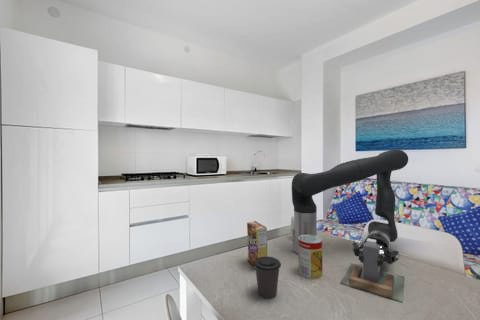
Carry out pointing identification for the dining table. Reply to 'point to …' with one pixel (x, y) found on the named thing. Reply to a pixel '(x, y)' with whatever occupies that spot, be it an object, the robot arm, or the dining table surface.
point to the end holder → (375, 283)
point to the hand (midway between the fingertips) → (370, 261)
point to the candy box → (256, 241)
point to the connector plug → (371, 260)
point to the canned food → (310, 256)
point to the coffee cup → (267, 276)
